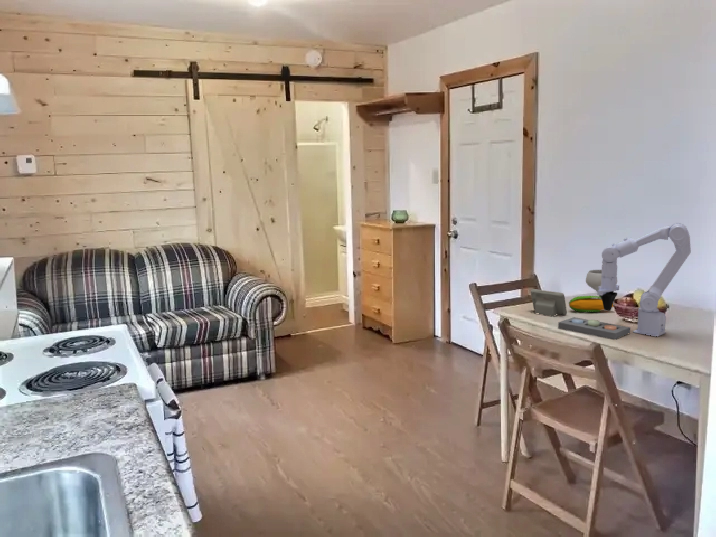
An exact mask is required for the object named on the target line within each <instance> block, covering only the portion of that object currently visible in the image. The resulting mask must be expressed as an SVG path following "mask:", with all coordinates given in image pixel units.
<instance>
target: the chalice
mask: <svg viewBox="0 0 716 537" xmlns="http://www.w3.org/2000/svg"><path fill="white" fill-rule="evenodd" d="M601 273H602V269H591V270H589V271H587V273H586V276H585V277H586V278H585V284H586V286H588V287H589V288H591V289H593V290H594V291H595V292H597V290H599V289H598V287H599V286H601ZM598 297H600V295H598ZM596 299H601V298H596Z"/></svg>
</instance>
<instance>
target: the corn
mask: <svg viewBox="0 0 716 537" xmlns="http://www.w3.org/2000/svg"><path fill="white" fill-rule="evenodd" d="M597 298H601V297H599V295H597V296H596V295H581V296H580V295H579V296H575V297H573V298H572V299H570V300H569V302H568V306H569V308H570V310H572V311H575V312H578V313H600V312H601V311H605V310H604V306H603V302H602V299H597ZM612 308H614V306H613V305H612Z"/></svg>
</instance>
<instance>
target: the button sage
mask: <svg viewBox="0 0 716 537" xmlns="http://www.w3.org/2000/svg"><path fill="white" fill-rule="evenodd" d="M587 320H588V326H593V327H598V326H600V322H601V321H600V320H599V319H598V320H597V319H587Z"/></svg>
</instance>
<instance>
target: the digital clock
mask: <svg viewBox="0 0 716 537" xmlns="http://www.w3.org/2000/svg"><path fill="white" fill-rule="evenodd" d="M530 297H531V302H532V307H533V310H534V314H535V313H539V314H538V315H540V314H544V315H543V316H546V315H551V316H550V317H552V316H553V317H555V316H554V315H556V314H562V315H561V316H566V315H567V314H568V310H567V303H566V298H565V297H566V296H565V294H564V292H563V293H562V292H561V291H560V292H559V291H552V290H545V289H535V288H532V289H531V290H530ZM556 316H557V315H556Z"/></svg>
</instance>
